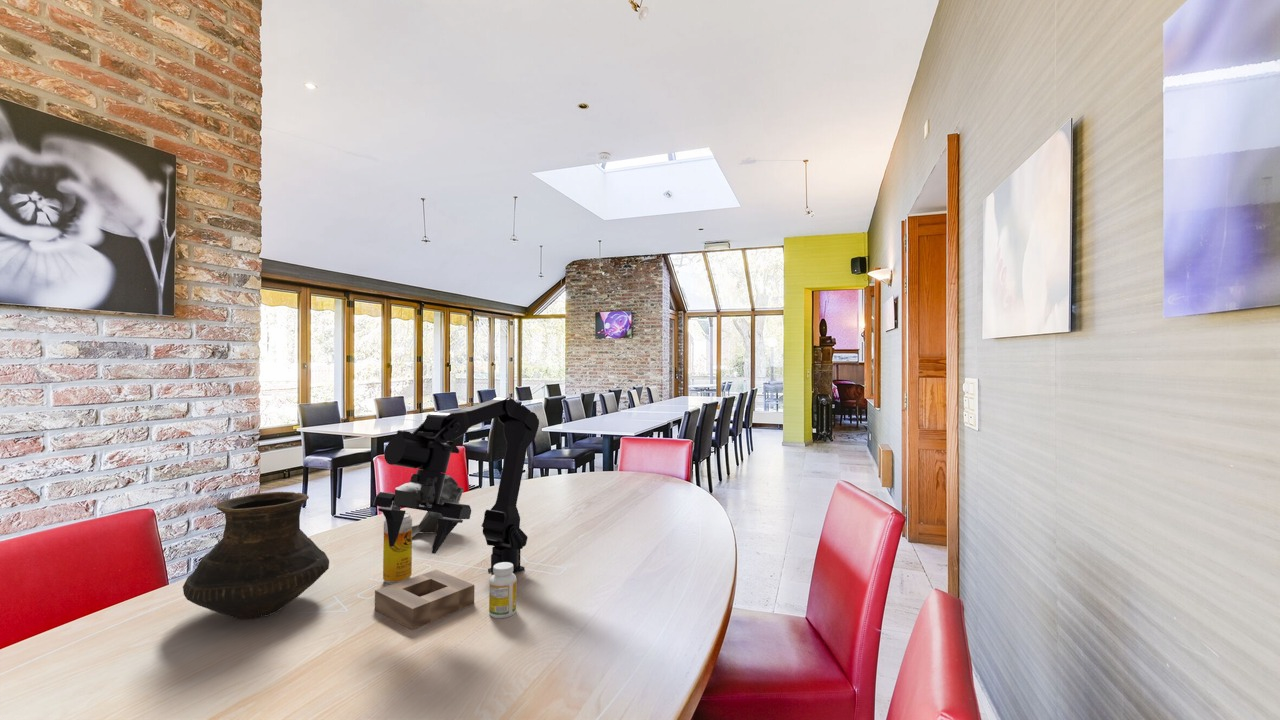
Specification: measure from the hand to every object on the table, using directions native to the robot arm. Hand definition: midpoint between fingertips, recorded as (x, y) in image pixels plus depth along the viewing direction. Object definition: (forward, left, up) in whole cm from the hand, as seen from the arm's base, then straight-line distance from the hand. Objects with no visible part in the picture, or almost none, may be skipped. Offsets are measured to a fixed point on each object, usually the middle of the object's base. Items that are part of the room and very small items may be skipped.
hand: (412, 549), depth 106 cm
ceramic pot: (+17, -28, -13) cm, 35 cm away
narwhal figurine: (-33, -44, -13) cm, 56 cm away
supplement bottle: (-12, +13, -13) cm, 22 cm away
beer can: (-8, -20, -13) cm, 25 cm away
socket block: (-4, -2, -13) cm, 14 cm away
